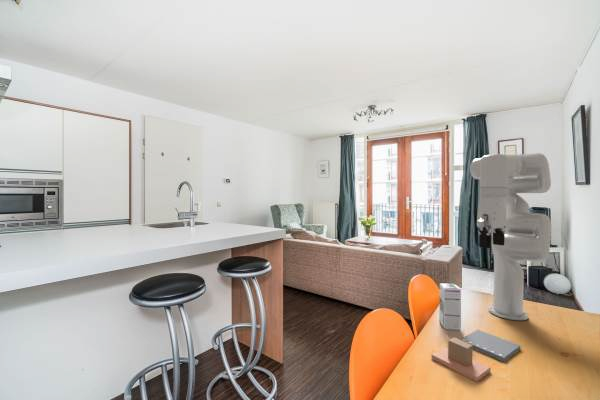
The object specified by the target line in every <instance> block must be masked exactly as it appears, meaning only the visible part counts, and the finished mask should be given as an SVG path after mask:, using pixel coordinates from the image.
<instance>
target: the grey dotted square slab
mask: <svg viewBox="0 0 600 400" xmlns="http://www.w3.org/2000/svg"><path fill="white" fill-rule="evenodd" d="M459 340H462V341H464V342H466V343H469V344H471V345H473V350H475V351H478V352H479V353H482V354H484V355H487V356H489V357H492V358H494V359H495V360H496V359H497V360H499V361H501V362H503V363H504V362H506V361H507V360H509V359H510V358H511V357H512V356H513V355H515V354H516V353H518V352H519V351H520V350H521V344H518V343H516V342H512V341H510V340H508V339H507V340H506V339H504V338H501V337H499V336H496V335H493V334H490V333H488V332H486V331H483V330H480V329H476V330H474V331H473V332H471V333H468V334H466V336H464V337H462V338H459Z"/></svg>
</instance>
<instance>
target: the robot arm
mask: <svg viewBox="0 0 600 400" xmlns="http://www.w3.org/2000/svg"><path fill="white" fill-rule="evenodd" d="M471 161H472V162H471V163H470V165H469V172H470V173H469V174H470V175H471V177H472V178H473V179H475V180H479V193H478V194H479V197H478V198H479V200H478V206H477V207H478V208H477V215H476V216H477V217H476V226H477V230H478V236H479V237H478V247H480V248H482V249H483V248H484V249H491V248H492V254H493V296H492V297H493V300H492V305H489V306H488V312H489V313H490V314H492V315H494V316H496V317H500V318H503V319H506V320H511V321H526V320H528V318H529V314H528V313H527V312H525V311H524V289H525V288H524V287H525V286H524V283H525V280H524V279H525V272H524V269H523V268H522V266H521V264H520V263H519V262H518V261H525V262H526V261H527V262H533V263H544V262H547V260H548V259H549V256H550V248H551V239H552V237H551V236H552V221H551V219H550V217H549V216H548V215H547V214H544V213H536V212H529V211H530V205H529V203H528V202H527V201H526V200H525V199H524V198H523V197H522V196H520V195H519V194H544V193H547V192H548V191H549V190H550V189H551V185H552V179H551V171H550V165H549V161H548V159H547V157H546V156H545V155H544V154H543V153H541V152H540V153H539V152H534V153H523V154H520V153H519V154H503V153H502V154H501V153H498V154H497V153H496V154H486V155H482V157H479V158H478V157H477V158H475V159H473V160H471ZM492 230H493V232H492ZM491 233H492V235H491Z"/></svg>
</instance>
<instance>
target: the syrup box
mask: <svg viewBox="0 0 600 400" xmlns="http://www.w3.org/2000/svg"><path fill="white" fill-rule="evenodd" d="M438 316H439V323H440V325H441V326H442V328H443V329H445V330H454V331H461V329H462V289H461V288H460V287H459V286H458V285H457V284H455V283H446V282H445V283H443V282H442V283H439V315H438Z"/></svg>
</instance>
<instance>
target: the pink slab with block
mask: <svg viewBox="0 0 600 400" xmlns="http://www.w3.org/2000/svg"><path fill="white" fill-rule="evenodd" d="M447 343H448V344H447V345H448V347H447V346H445V347H442V348H441V349H439V350H437V351H435V352H433V353H432V354H431V359H432V360H434V361H436V362H438V363H440V364H442V365H444V366H446V367H448V368H450V369H452V370H454V371H456V373H457V372H458V373H460V374H461V375H463V376H465V377H467V378H469V379H471V380H473V381H474V382H478V381H480V380H481V379H483V378H484V377H485V376H487V375H488V374H489V373H491V367H490V366H488V365H486V364H484V363H481V362H479V361H478V360H475V359H473V357H474V356H473V355H474V353H473V351H474V349H473V345H471V344H469V343H466V342H464V341H462V340H460V338H457V337H454V336H453V337H452V338H450V339H448V342H447Z"/></svg>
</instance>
